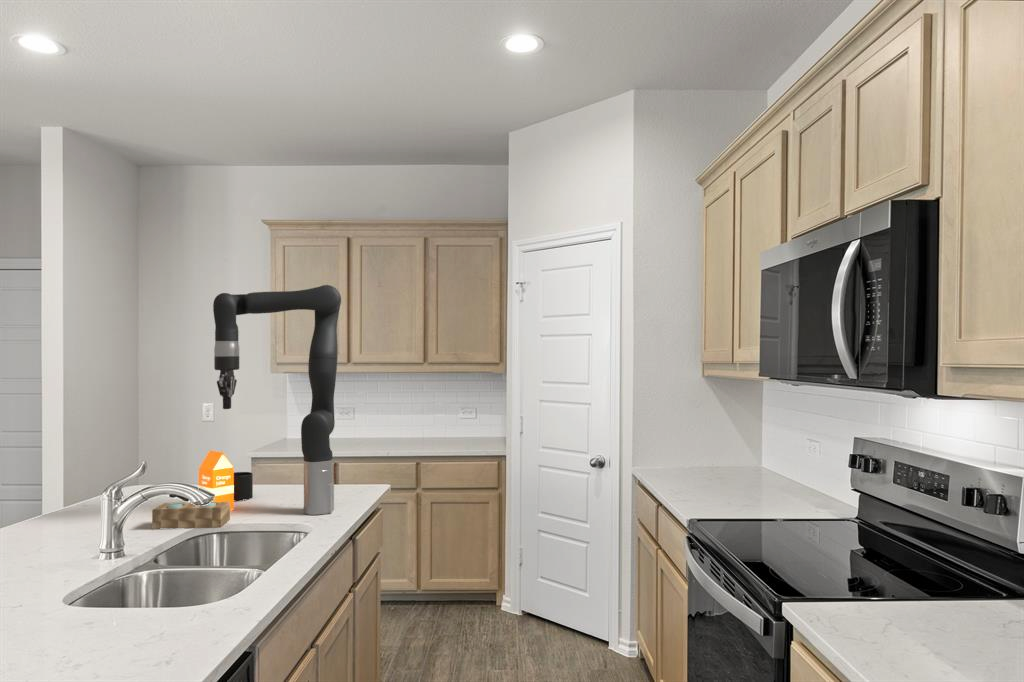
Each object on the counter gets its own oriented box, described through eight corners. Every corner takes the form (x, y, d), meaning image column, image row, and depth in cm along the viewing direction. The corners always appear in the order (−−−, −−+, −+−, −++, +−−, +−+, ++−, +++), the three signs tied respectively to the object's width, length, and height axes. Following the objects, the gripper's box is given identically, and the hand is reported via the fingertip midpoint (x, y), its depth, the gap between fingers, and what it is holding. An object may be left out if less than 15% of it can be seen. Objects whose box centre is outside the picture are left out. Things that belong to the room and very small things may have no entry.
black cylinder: (261, 495, 263) (261, 471, 263) (242, 502, 251) (242, 476, 251) (239, 494, 265) (239, 470, 265) (219, 501, 253) (219, 475, 253)
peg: (184, 521, 219) (184, 503, 219) (179, 524, 215) (179, 506, 215) (171, 522, 219) (171, 503, 219) (165, 525, 215) (165, 506, 215)
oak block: (230, 520, 223) (229, 501, 223) (220, 527, 214) (220, 507, 214) (164, 522, 221) (164, 503, 221) (152, 529, 212) (152, 509, 212)
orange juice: (212, 514, 231) (212, 453, 231) (198, 511, 236) (198, 451, 237) (234, 510, 237) (234, 451, 238) (220, 507, 243) (219, 449, 243)
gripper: (232, 355, 221) (232, 410, 221) (244, 355, 234) (245, 407, 234) (207, 355, 221) (208, 410, 220) (221, 355, 234) (221, 407, 233)
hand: (227, 408), depth 227 cm, fingers closed
